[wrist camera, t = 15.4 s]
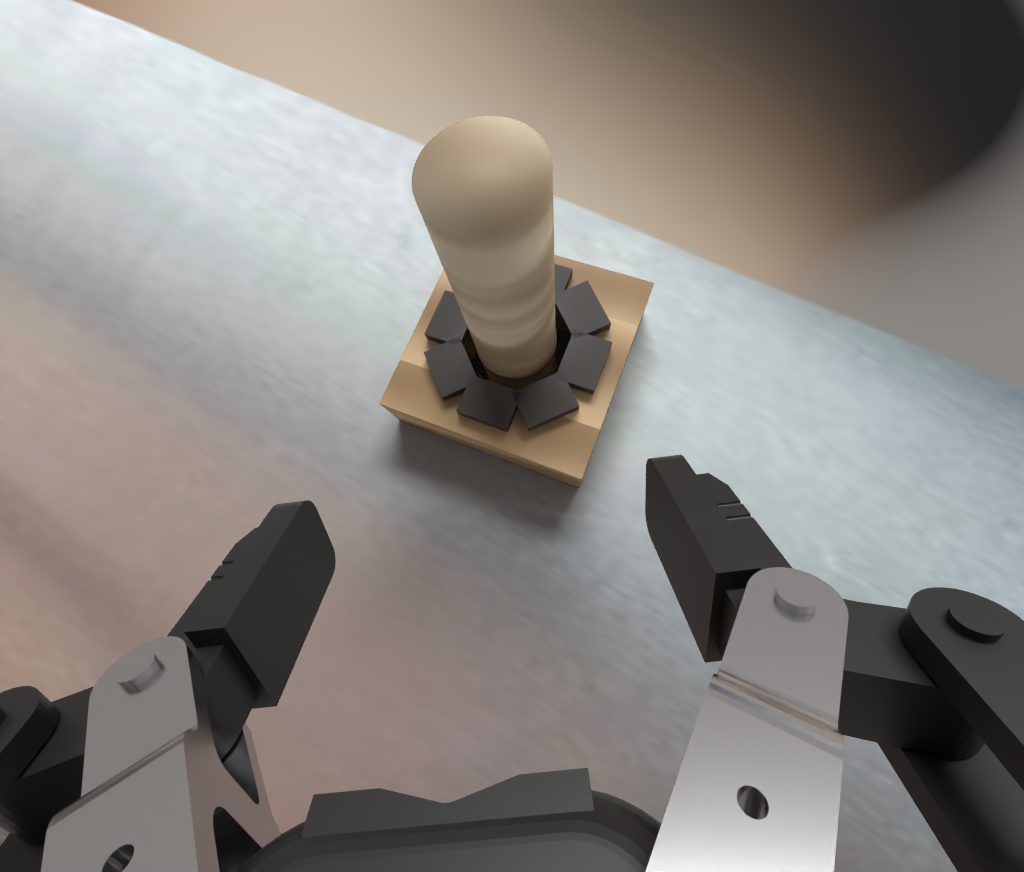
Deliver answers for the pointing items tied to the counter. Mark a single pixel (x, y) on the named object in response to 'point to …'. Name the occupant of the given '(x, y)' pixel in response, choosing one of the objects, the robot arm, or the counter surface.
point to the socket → (539, 406)
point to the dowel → (495, 239)
